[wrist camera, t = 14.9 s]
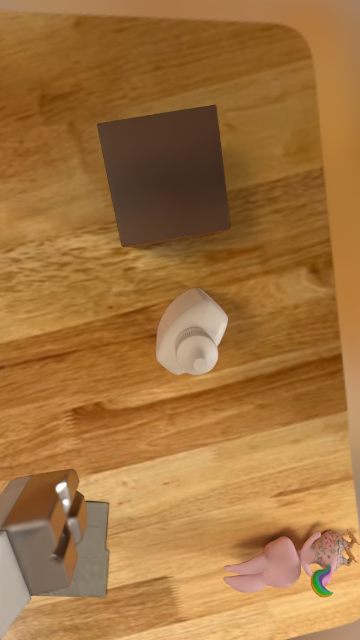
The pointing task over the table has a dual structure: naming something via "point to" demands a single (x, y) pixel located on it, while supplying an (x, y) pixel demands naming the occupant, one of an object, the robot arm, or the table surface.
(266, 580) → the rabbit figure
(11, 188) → the table surface
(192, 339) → the eye dropper bottle
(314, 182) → the table surface
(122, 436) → the table surface
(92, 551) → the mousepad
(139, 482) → the table surface
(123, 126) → the walnut block
